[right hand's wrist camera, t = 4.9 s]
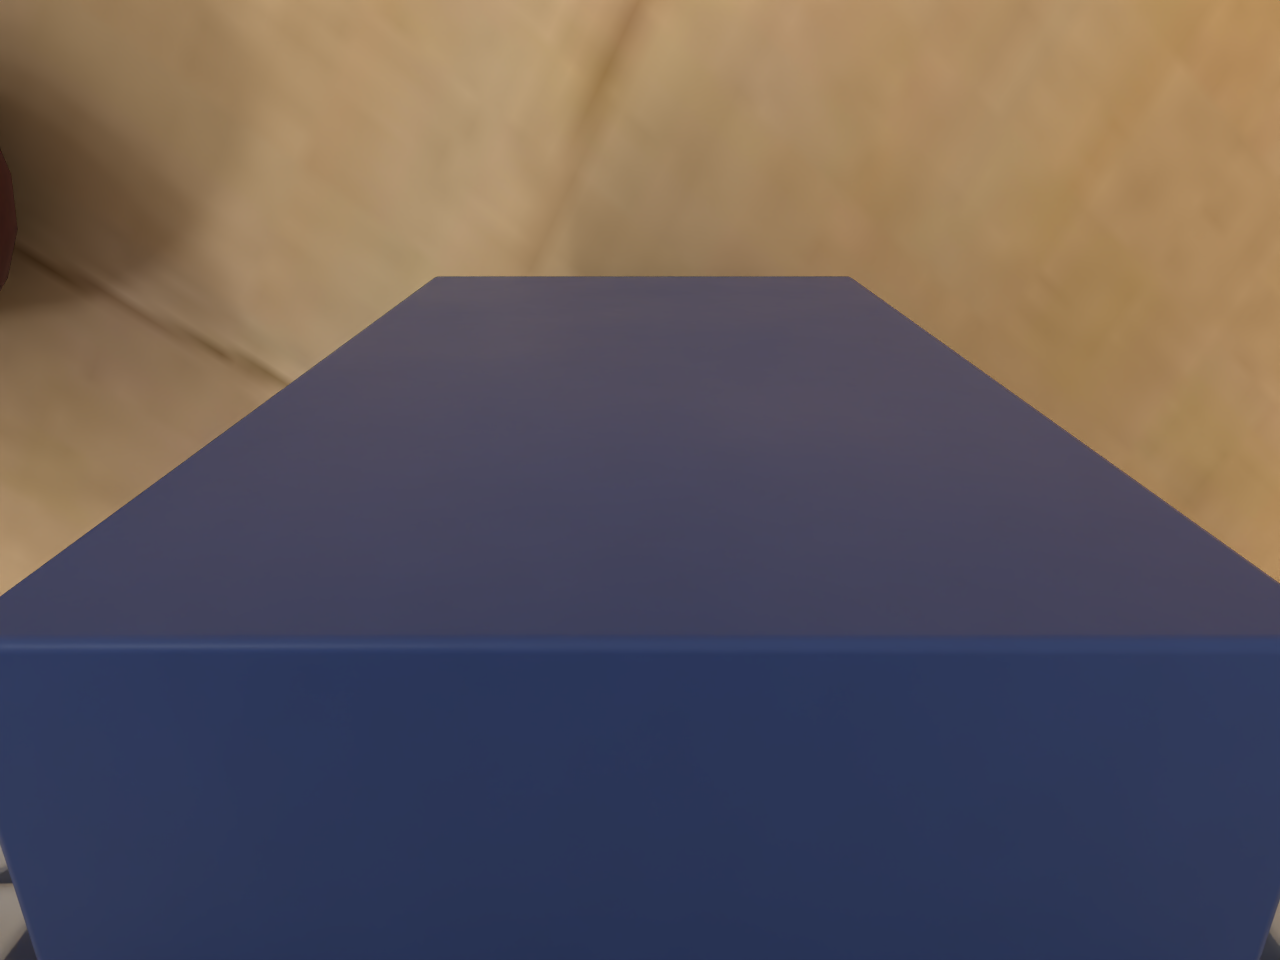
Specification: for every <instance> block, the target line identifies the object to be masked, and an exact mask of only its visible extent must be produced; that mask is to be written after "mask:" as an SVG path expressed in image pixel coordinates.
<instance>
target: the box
mask: <svg viewBox="0 0 1280 960" xmlns="http://www.w3.org/2000/svg"><path fill="white" fill-rule="evenodd" d="M0 845H1V848H2V852H3V855H4V858H5V861H6V864H7V867H8V870H9V873H10V876H11V880H12V883H13V886H14V889H15V892H16V895H17V898H18V901H19V905H20V908H21V911H22V914H23V917H24V920H25V923H26V926H27V929H28V933H29V936H30V939H31V942H32V945H33V948H34V951H35V954H36V957H37V960H1260V958H1261V955H1262V952H1263V949H1264V946H1265V943H1266V940H1267V937H1268V934H1269V931H1270V928H1271V925H1272V922H1273V919H1274V916H1275V913H1276V910H1277V907H1278V904H1279V900H1280V583H1278V582H1277V581H1276V580H1274V579H1273V578H1271V577H1270V576H1269V575H1267V574H1266V573H1264V572H1263V571H1262V570H1260V569H1259V568H1257V567H1256V566H1255V565H1253V564H1252V563H1250V562H1249V561H1247V560H1246V559H1245V558H1243V557H1242V556H1240V555H1239V554H1238V553H1236V552H1235V551H1233V550H1232V549H1231V548H1229V547H1228V546H1226V545H1225V544H1224V543H1222V542H1221V541H1219V540H1218V539H1217V538H1215V537H1214V536H1212V535H1211V534H1210V533H1208V532H1207V531H1205V530H1204V529H1203V528H1201V527H1200V526H1198V525H1197V524H1196V523H1194V522H1193V521H1191V520H1190V519H1189V518H1187V517H1186V516H1184V515H1183V514H1182V513H1180V512H1179V511H1177V510H1176V509H1175V508H1173V507H1172V506H1170V505H1169V504H1168V503H1166V502H1165V501H1163V500H1162V499H1161V498H1159V497H1158V496H1156V495H1155V494H1154V493H1152V492H1151V491H1149V490H1148V489H1147V488H1145V487H1144V486H1142V485H1141V484H1140V483H1138V482H1137V481H1135V480H1134V479H1133V478H1131V477H1130V476H1128V475H1127V474H1126V473H1124V472H1123V471H1121V470H1120V469H1119V468H1117V467H1116V466H1114V465H1113V464H1112V463H1110V462H1109V461H1107V460H1106V459H1105V458H1103V457H1102V456H1100V455H1099V454H1098V453H1096V452H1095V451H1093V450H1092V449H1091V448H1089V447H1088V446H1086V445H1085V444H1083V443H1082V442H1081V441H1079V440H1078V439H1076V438H1075V437H1074V436H1072V435H1071V434H1069V433H1068V432H1067V431H1065V430H1064V429H1062V428H1061V427H1060V426H1058V425H1057V424H1055V423H1054V422H1053V421H1051V420H1050V419H1048V418H1047V417H1046V416H1044V415H1043V414H1041V413H1040V412H1039V411H1037V410H1036V409H1034V408H1033V407H1032V406H1030V405H1029V404H1027V403H1026V402H1025V401H1023V400H1022V399H1020V398H1019V397H1018V396H1016V395H1015V394H1013V393H1012V392H1011V391H1009V390H1008V389H1006V388H1005V387H1004V386H1002V385H1001V384H999V383H998V382H997V381H995V380H994V379H992V378H991V377H990V376H988V375H987V374H985V373H984V372H983V371H981V370H980V369H978V368H977V367H976V366H974V365H973V364H971V363H970V362H969V361H967V360H966V359H964V358H963V357H962V356H960V355H959V354H957V353H956V352H955V351H953V350H952V349H950V348H949V347H948V346H946V345H945V344H943V343H942V342H941V341H939V340H938V339H936V338H935V337H934V336H932V335H931V334H929V333H928V332H927V331H925V330H924V329H922V328H921V327H919V326H918V325H917V324H915V323H914V322H912V321H911V320H910V319H908V318H907V317H905V316H904V315H903V314H901V313H900V312H898V311H897V310H896V309H894V308H893V307H891V306H890V305H889V304H887V303H886V302H884V301H883V300H882V299H880V298H879V297H877V296H876V295H875V294H873V293H872V292H870V291H869V290H868V289H866V288H865V287H863V286H862V285H861V284H859V283H858V282H856V281H855V280H854V279H852V278H850V277H435V278H434V279H432V280H431V281H429V282H428V283H427V284H425V285H424V286H423V287H421V288H420V289H419V290H417V291H416V292H414V293H413V294H412V295H410V296H409V297H408V298H406V299H405V300H404V301H402V302H401V303H399V304H398V305H397V306H395V307H394V308H393V309H391V310H390V311H389V312H387V313H386V314H385V315H383V316H382V317H380V318H379V319H378V320H376V321H375V322H374V323H372V324H371V325H370V326H368V327H367V328H365V329H364V330H363V331H361V332H360V333H359V334H357V335H356V336H355V337H353V338H352V339H350V340H349V341H348V342H346V343H345V344H344V345H342V346H341V347H340V348H338V349H337V350H335V351H334V352H333V353H331V354H330V355H329V356H327V357H326V358H325V359H323V360H322V361H320V362H319V363H318V364H316V365H315V366H314V367H312V368H311V369H310V370H308V371H307V372H305V373H304V374H303V375H301V376H300V377H299V378H297V379H296V380H295V381H293V382H292V383H291V384H289V385H288V386H286V387H285V388H284V389H282V390H281V391H280V392H278V393H277V394H276V395H274V396H273V397H271V398H270V399H269V400H267V401H266V402H265V403H263V404H262V405H261V406H259V407H258V408H256V409H255V410H254V411H252V412H251V413H250V414H248V415H247V416H246V417H244V418H243V419H241V420H240V421H239V422H237V423H236V424H235V425H233V426H232V427H231V428H229V429H228V430H226V431H225V432H224V433H222V434H221V435H220V436H218V437H217V438H216V439H214V440H213V441H212V442H210V443H209V444H207V445H206V446H205V447H203V448H202V449H201V450H199V451H198V452H197V453H195V454H194V455H192V456H191V457H190V458H188V459H187V460H186V461H184V462H183V463H182V464H180V465H179V466H177V467H176V468H175V469H173V470H172V471H171V472H169V473H168V474H167V475H165V476H164V477H162V478H161V479H160V480H158V481H157V482H156V483H154V484H153V485H152V486H150V487H149V488H147V489H146V490H145V491H143V492H142V493H141V494H139V495H138V496H137V497H135V498H134V499H132V500H131V501H130V502H128V503H127V504H126V505H124V506H123V507H122V508H120V509H119V510H118V511H116V512H115V513H113V514H112V515H111V516H109V517H108V518H107V519H105V520H104V521H103V522H101V523H100V524H98V525H97V526H96V527H94V528H93V529H92V530H90V531H89V532H88V533H86V534H85V535H83V536H82V537H81V538H79V539H78V540H77V541H75V542H74V543H73V544H71V545H70V546H68V547H67V548H66V549H64V550H63V551H62V552H60V553H59V554H58V555H56V556H55V557H53V558H52V559H51V560H49V561H48V562H47V563H45V564H44V565H43V566H41V567H40V568H39V569H37V570H36V571H34V572H33V573H32V574H30V575H29V576H28V577H26V578H25V579H24V580H22V581H21V582H19V583H18V584H17V585H15V586H14V587H13V588H11V589H10V590H9V591H7V592H6V593H4V594H3V595H2V596H0Z"/></svg>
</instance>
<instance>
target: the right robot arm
mask: <svg viewBox="0 0 1280 960" xmlns="http://www.w3.org/2000/svg"><path fill="white" fill-rule="evenodd" d="M0 960H37V957H36V954H35V951H34V948H33V945H32V942H31V939H30V936H29V933H28V929H27V926H26V923H25V920H24V917H23V914H22V911H21V908H20V905H19V901H18V898H17V895H16V892H15V889H14V886H13V883H12V880H11V876H10V873H9V870H8V867H7V864H6V861H5V858H4V855H3V852H2V848H1V845H0ZM1260 960H1280V900H1279V904H1278V907H1277V910H1276V913H1275V916H1274V919H1273V922H1272V925H1271V928H1270V931H1269V934H1268V937H1267V940H1266V943H1265V946H1264V949H1263V952H1262V955H1261V958H1260Z"/></svg>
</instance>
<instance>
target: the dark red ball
mask: <svg viewBox="0 0 1280 960" xmlns="http://www.w3.org/2000/svg"><path fill="white" fill-rule="evenodd" d="M16 234H17V221H16V212H15V204H14V195H13V187H12V178H11V173H10V171H9V169H8V166H7V164H6V161H5V159H4V157H3V154H2V152H1V150H0V290H1V289H2V287H3V285H4V283H5V282H6V280H7V278H8V273H9V268H10V264H11V259H12V254H13V249H14V244H15V239H16Z"/></svg>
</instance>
